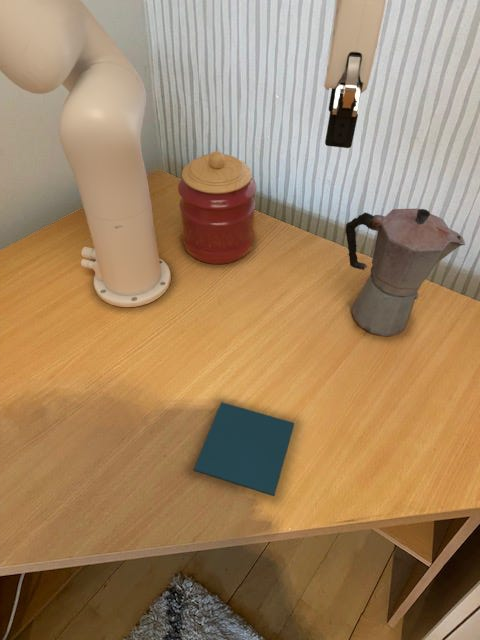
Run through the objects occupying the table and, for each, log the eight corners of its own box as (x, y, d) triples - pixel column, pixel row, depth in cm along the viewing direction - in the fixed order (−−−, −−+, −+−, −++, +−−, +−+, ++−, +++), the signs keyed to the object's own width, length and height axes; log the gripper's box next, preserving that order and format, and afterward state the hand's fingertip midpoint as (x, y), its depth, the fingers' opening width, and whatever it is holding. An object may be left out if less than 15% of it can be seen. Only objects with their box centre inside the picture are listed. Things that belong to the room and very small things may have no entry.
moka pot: (429, 347, 71) (481, 240, 56) (325, 331, 73) (349, 222, 58) (425, 303, 77) (471, 196, 63) (330, 289, 79) (353, 182, 64)
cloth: (193, 470, 57) (193, 469, 57) (221, 403, 64) (221, 402, 63) (274, 496, 55) (274, 494, 55) (294, 424, 62) (294, 422, 61)
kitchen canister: (257, 264, 83) (262, 173, 70) (183, 267, 82) (174, 175, 69) (249, 220, 92) (253, 132, 79) (182, 223, 91) (175, 134, 78)
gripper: (335, -53, 55) (314, 98, 68) (329, -17, 43) (304, 157, 56) (401, -48, 54) (367, 103, 67) (412, -11, 43) (369, 164, 55)
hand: (338, 128), depth 61 cm, fingers open, 9 cm apart
